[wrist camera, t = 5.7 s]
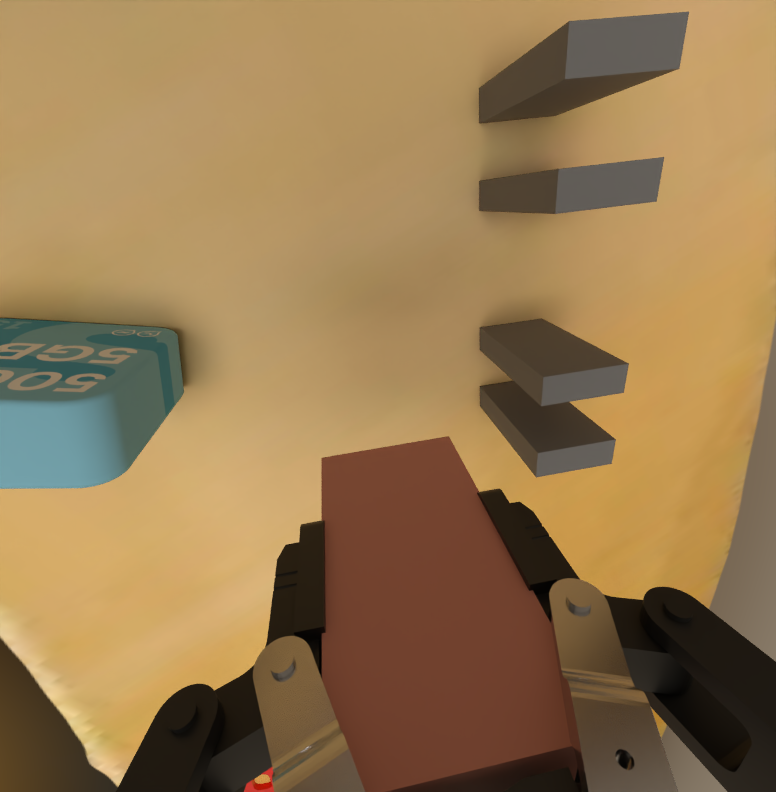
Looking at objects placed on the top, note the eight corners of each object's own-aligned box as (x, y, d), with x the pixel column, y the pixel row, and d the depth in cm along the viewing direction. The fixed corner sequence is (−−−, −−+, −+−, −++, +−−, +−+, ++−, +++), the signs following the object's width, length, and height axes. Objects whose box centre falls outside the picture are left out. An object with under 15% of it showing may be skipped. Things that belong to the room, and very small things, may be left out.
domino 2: (479, 87, 24) (569, 21, 16) (557, 80, 25) (689, 11, 16) (479, 123, 25) (565, 79, 16) (555, 115, 26) (679, 68, 17)
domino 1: (321, 458, 15) (321, 807, 6) (448, 436, 16) (612, 735, 7) (329, 494, 16) (339, 851, 7) (450, 473, 17) (598, 784, 8)
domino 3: (479, 181, 27) (558, 168, 18) (551, 173, 27) (664, 157, 18) (479, 210, 27) (555, 213, 18) (549, 202, 28) (656, 201, 19)
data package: (183, 327, 28) (97, 404, 17) (190, 387, 30) (115, 490, 19) (-18, 315, 26) (-260, 394, 15) (2, 380, 28) (-200, 492, 17)
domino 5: (479, 386, 33) (537, 453, 24) (537, 377, 34) (615, 439, 25) (480, 405, 34) (536, 477, 25) (536, 396, 34) (611, 463, 26)
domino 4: (479, 327, 31) (543, 377, 22) (541, 318, 31) (628, 363, 23) (479, 349, 32) (541, 406, 23) (540, 340, 32) (623, 392, 23)
